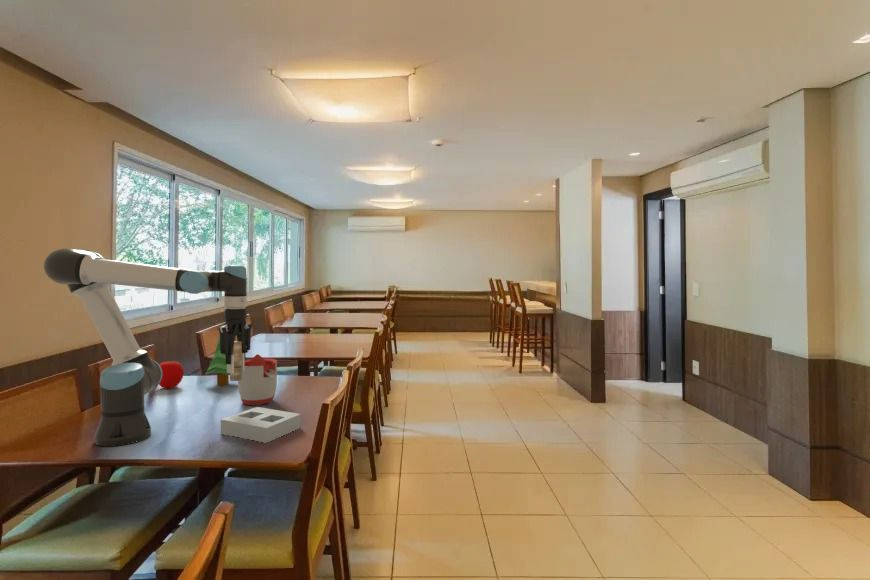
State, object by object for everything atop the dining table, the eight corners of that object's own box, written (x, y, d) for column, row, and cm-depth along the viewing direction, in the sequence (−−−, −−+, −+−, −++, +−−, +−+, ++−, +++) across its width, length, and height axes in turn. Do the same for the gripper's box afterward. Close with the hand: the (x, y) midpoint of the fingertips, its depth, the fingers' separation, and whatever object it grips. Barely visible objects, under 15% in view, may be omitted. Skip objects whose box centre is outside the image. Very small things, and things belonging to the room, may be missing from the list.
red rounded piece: (149, 389, 210) (149, 361, 210) (169, 384, 221) (169, 357, 220) (169, 391, 207) (168, 363, 206) (188, 386, 217) (188, 359, 217)
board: (266, 443, 145) (266, 428, 145) (220, 434, 153) (220, 419, 153) (300, 428, 160) (300, 414, 160) (257, 420, 168) (257, 406, 168)
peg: (235, 381, 166) (235, 343, 166) (227, 380, 168) (227, 342, 167) (244, 379, 170) (244, 341, 169) (236, 378, 172) (236, 340, 171)
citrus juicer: (258, 410, 180) (257, 359, 180) (229, 403, 189) (228, 355, 188) (288, 400, 194) (288, 353, 193) (260, 395, 202) (260, 349, 202)
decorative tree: (200, 388, 213) (199, 323, 212) (217, 380, 229) (216, 320, 228) (228, 389, 212) (228, 324, 211) (244, 381, 228) (243, 320, 227)
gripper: (223, 309, 159) (223, 377, 159) (261, 306, 174) (261, 368, 175) (208, 308, 162) (208, 375, 162) (246, 306, 177) (246, 366, 178)
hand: (235, 371), depth 169 cm, fingers closed on peg, 4 cm apart
